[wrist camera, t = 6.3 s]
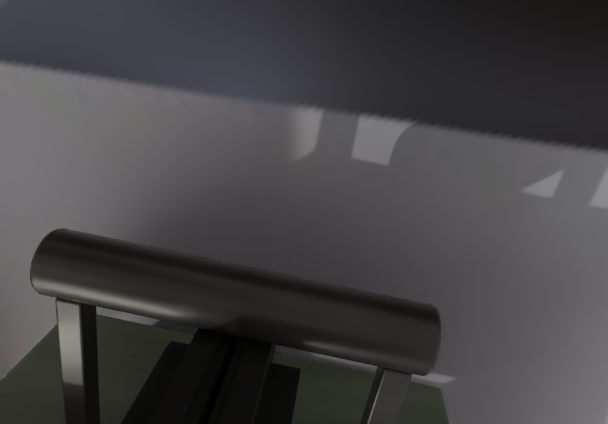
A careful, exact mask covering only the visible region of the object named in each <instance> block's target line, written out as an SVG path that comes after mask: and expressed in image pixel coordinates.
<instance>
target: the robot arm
mask: <svg viewBox="0 0 608 424" xmlns="http://www.w3.org/2000/svg"><path fill="white" fill-rule="evenodd" d="M275 346H276V344H272V343H267V342H262V341H257V340H253V339H248V338H243V337H239V336H234V335H229V334H225V333H220V332H215V331H211V330H206V329H201V328H198V330H197V331H196V333H195V335H194V337H193V339H192V341H191V343H190V344H186V343H181V342H176V341H171V342H169V344H168V345H167V347H166V348H165V350H164V352H163V353H162V355H161V357H160V358H159V360H158V362H157V363H156V365H155V367H154V368H153V370H152V372H151V373H150V375H149V377H148V378H147V380H146V382H145V384H144V385H143V387H142V389H141V390H140V392H139V394H138V395H137V397H136V399H135V400H134V402H133V404H132V405H131V407H130V409H129V411H128V412H127V414H126V416H125V417H124V419H123V421H122V422H121V424H292V419H293V413H294V407H295V401H296V395H297V389H298V383H299V377H300V371H301V369H300V368H295V367H291V366H286V365H282V364H277V363H272V362H273V356H274V351H275Z"/></svg>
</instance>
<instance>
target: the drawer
mask: <svg viewBox="0 0 608 424" xmlns="http://www.w3.org/2000/svg"><path fill="white" fill-rule="evenodd" d="M30 279H31V283H32V286H33V288H34V289H35V290H36V291H37V292H38V293H40V294H42V295H47V296H52V297H56V313H57V325H56V326H55V327H54V328H53V329H52V330H51V331H50V332H49V333H48V334H47V335H46V336H45V337H44V338H43V339H42V340H41V341H40V342H39V343H38V344H37V345H36V346H35V347H34V348H33V349H32V350H31V351H30V352H29V353H28V354H27V355H26V356H25V357H24V358H23V359H22V360H21V361H20V362H19V363H18V364H17V365H16V366H15V367H14V368H13V369H12V370H11V371H10V372H9V373H8V374H7V375H6V376H5V377H4V378H3V379H2V380H1V381H0V424H121V422H122V421H123V419H124V417H125V416H126V414H127V412H128V411H129V409H130V407H131V405H132V404H133V402H134V400H135V399H136V397H137V395H138V394H139V392H140V390H141V389H142V387H143V385H144V384H145V382H146V380H147V378H148V377H149V375H150V373H151V372H152V370H153V368H154V367H155V365H156V363H157V362H158V360H159V358H160V357H161V355H162V353H163V352H164V350H165V348H166V347H167V345H168V344H169V342H171V341H176V342H181V343H186V344H190V343H191V341H192V339H193V337H194V335H191V334H186V333H182V332H177V331H172V330H168V329H163V328H158V327H154V326H149V325H144V324H140V323H135V322H130V321H126V320H121V319H116V318H112V317H107V316H102V315H98V314H96V306H99V307H103V308H108V309H113V310H117V311H122V312H127V313H131V314H136V315H141V316H145V317H150V318H155V319H159V320H164V321H169V322H173V323H178V324H183V325H187V326H192V327H197V328H201V329H206V330H211V331H215V332H220V333H225V334H229V335H234V336H239V337H243V338H248V339H253V340H257V341H262V342H267V343H272V344H276V345H281V346H286V347H290V348H295V349H300V350H304V351H309V352H314V353H318V354H323V355H328V356H332V357H337V358H342V359H346V360H351V361H356V362H360V363H365V364H370V365H374V366H378V368H377V371H376V374H373V373H368V372H363V371H359V370H354V369H349V368H345V367H340V366H336V365H331V364H326V363H322V362H317V361H312V360H308V359H303V358H298V357H294V356H289V355H284V354H280V353H275V352H274V356H273V362H272V363H277V364H282V365H286V366H291V367H295V368H300V369H301V371H300V377H299V383H298V389H297V395H296V401H295V407H294V413H293V419H292V424H449V423H448V418H447V414H446V409H445V405H444V400H443V396H442V391H441V389H440V388H438V387H433V386H429V385H424V384H419V383H415V382H410V379H411V377H412V374H416V375H421V376H425V375H428V374H429V373H430V372H431V371H432V369H433V367H434V364H435V362H436V359H437V356H438V352H439V347H440V339H441V321H440V315H439V312H438V309H437V308H436V307H434V306H433V305H429V304H424V303H420V302H415V301H410V300H405V299H400V298H395V297H391V296H386V295H381V294H376V293H371V292H367V291H362V290H357V289H352V288H347V287H343V286H338V285H333V284H328V283H323V282H318V281H314V280H309V279H304V278H299V277H294V276H290V275H285V274H280V273H275V272H270V271H266V270H261V269H256V268H251V267H246V266H241V265H237V264H232V263H227V262H222V261H217V260H213V259H208V258H203V257H198V256H193V255H189V254H184V253H179V252H174V251H169V250H164V249H160V248H155V247H150V246H145V245H140V244H136V243H131V242H126V241H121V240H116V239H112V238H107V237H102V236H97V235H92V234H87V233H83V232H78V231H73V230H68V229H57V230H54V231H52V232H50V233H49V234H47V235H46V236H45V237H44V239H43V240H42V241H41V242H40V244H39V246H38V247H37V249H36V251H35V254H34V256H33V259H32V263H31V269H30Z"/></svg>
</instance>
